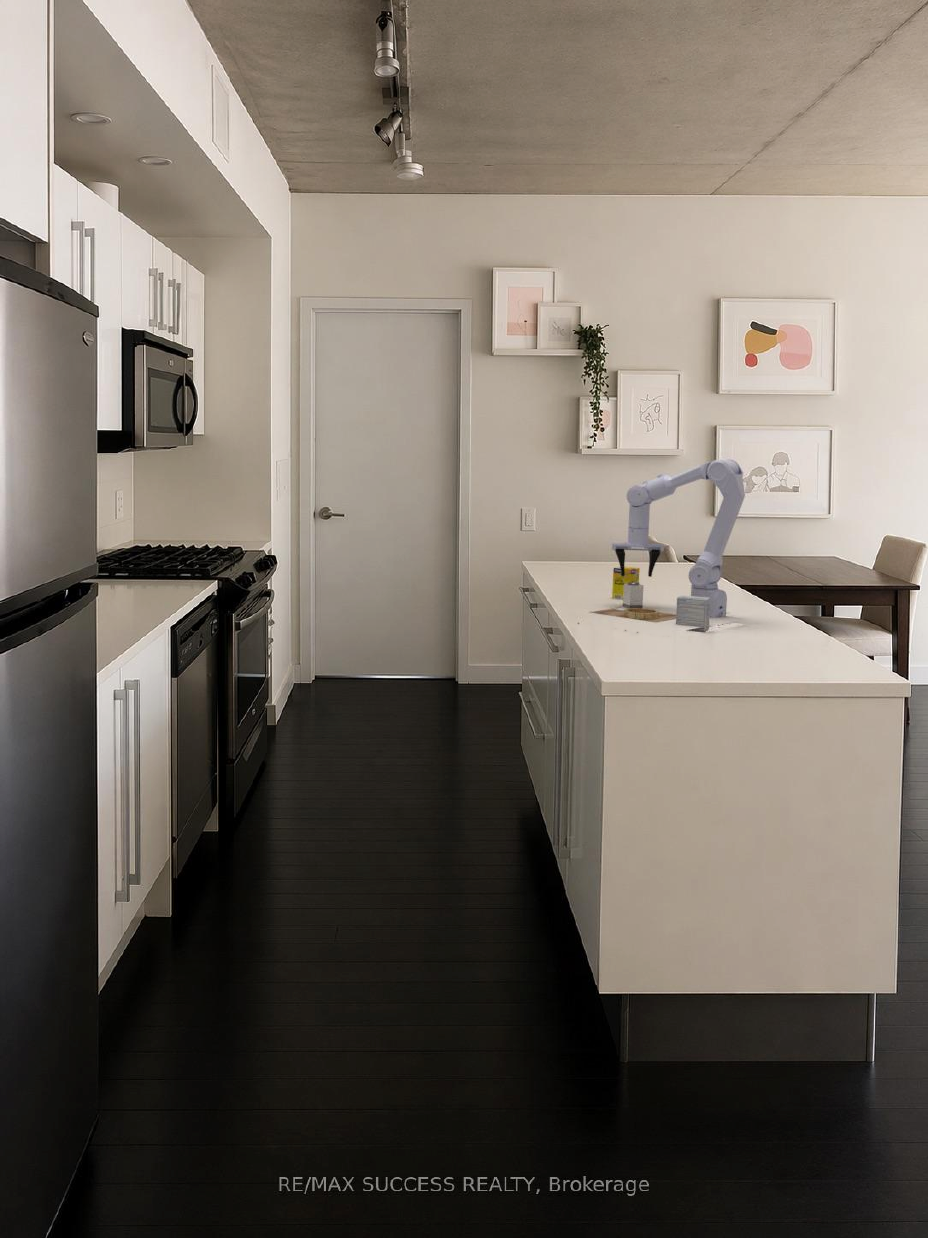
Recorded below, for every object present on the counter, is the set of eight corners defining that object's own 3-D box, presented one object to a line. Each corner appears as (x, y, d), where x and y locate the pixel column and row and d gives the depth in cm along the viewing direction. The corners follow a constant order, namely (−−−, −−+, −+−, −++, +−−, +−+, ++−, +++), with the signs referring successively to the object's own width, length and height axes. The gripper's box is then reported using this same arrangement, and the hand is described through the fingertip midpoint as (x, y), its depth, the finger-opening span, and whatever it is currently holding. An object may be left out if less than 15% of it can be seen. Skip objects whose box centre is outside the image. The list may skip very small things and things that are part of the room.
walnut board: (688, 621, 309) (689, 616, 309) (655, 627, 298) (655, 622, 298) (622, 612, 324) (622, 606, 324) (588, 617, 313) (588, 612, 312)
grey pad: (649, 611, 317) (649, 609, 317) (635, 613, 312) (635, 612, 312) (629, 608, 322) (629, 606, 322) (614, 610, 317) (614, 609, 317)
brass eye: (665, 617, 307) (665, 611, 307) (645, 620, 300) (646, 614, 300) (637, 613, 313) (637, 607, 313) (617, 616, 306) (617, 610, 306)
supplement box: (628, 605, 338) (630, 569, 336) (611, 603, 341) (612, 567, 340) (638, 603, 342) (640, 567, 341) (621, 601, 346) (622, 565, 344)
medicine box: (709, 630, 296) (710, 597, 295) (705, 632, 292) (707, 599, 291) (679, 627, 300) (681, 595, 298) (674, 630, 296) (676, 597, 294)
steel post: (635, 608, 319) (636, 581, 318) (642, 610, 316) (643, 583, 315) (622, 608, 318) (623, 582, 317) (629, 610, 314) (630, 583, 313)
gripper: (614, 528, 318) (612, 576, 320) (666, 529, 317) (663, 578, 319) (611, 526, 325) (609, 573, 327) (662, 528, 324) (660, 575, 326)
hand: (636, 575), depth 323 cm, fingers open, 7 cm apart
